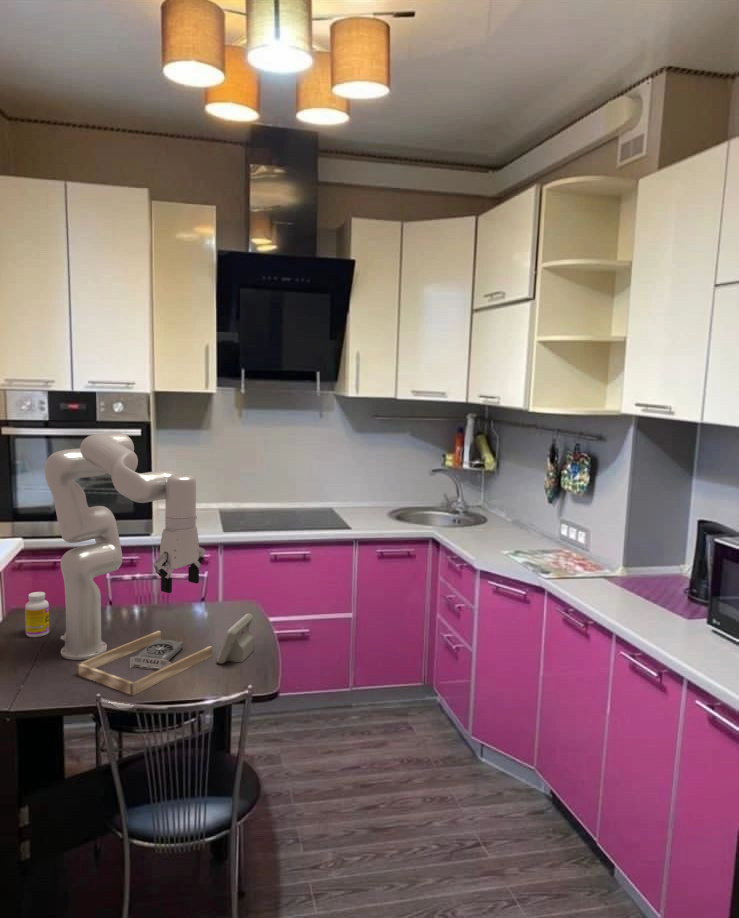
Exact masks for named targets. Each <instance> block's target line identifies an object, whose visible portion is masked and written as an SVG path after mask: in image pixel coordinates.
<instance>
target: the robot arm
mask: <svg viewBox="0 0 739 918" xmlns="http://www.w3.org/2000/svg"><path fill="white" fill-rule="evenodd" d="M134 451H135V445H134V442H133V440H132V439H131V437H129V435H127V434H125V433H123V432H109V433H108V432H107V433H95V434H90V435H88V436H87V437H85V438H84V439H83V440H82V442H81V443H80V446H79V448H72V449H71V448H69V449H62V450H59V451H56V452H54V453H52V454H50V455H49V456H48V457H47V459H46V461H45V465H44V477H45V481H46V484H47V486H48V488H49V491H50V494H51V495H52V497H53V498H52V499H53V502H54V507H55V512H56V514H55V515H56V518H57V523H58V528H59V533H60V536H61V538H62V539H63V541H65V543H70V544H75V543H82V542H85V541H89V540H90V541H91V540H94V542H95V543H91V544H86V545H82V546H78V547H74V548H72V549H69V550H67V551H66V552H65V553H64V554H63V555H62V557H61V559H60V570H61V574H62V578H63V583H64V597H65V599H64V601H65V602H64V603H65V632H64V635H61V636H60V640H61V641H62V642H63V641H64V646H62V648H61V649H60V656H61V657H62V658H64V659H66V660H72V661H73V660H74V661H82V660H84V661H85V660H88V659H90V658H93V657H95V656H98V655H100V654H102V653H105V652H107V650H108V645H107V643H106V642H105V641H103V640H102V602H101V601H102V599H101V598H102V597H101V595H102V594H101V590H100V587H99V586H98V585H97V584H96V582H95V581H94V578H95V577H99V576H103V575H105V574H110V573H113V572H115V571H117V570H119V568H120V567H121V565H122V563H123V552H122V545H121V540H120V536H119V530H118V525H117V521H116V518H115V515H114V513H113V512H112V511H111V509H110V508H108V507H106V506H103V505H95V506H91V507H89V505H88V501H87V497H86V496H87V495H86V493H85V491H84V489H83V488H82V486H80V484H79V483H77V482H76V481H75V480H74V479H82V478H89V477H91V478H92V477H97V476H98V477H99V476H103V475H106V474H107V475H110V477H111V481H112V484H113V486H114V488H115V490H116V491H117V492H118V493H119V494H120V495H122V496H123V497H125V498H127V499H129V500H131V501H132V502H135V503H139V504H140V503H141V504H144V503H150V502H155V501H163V500H165V501H164V502H165V505H164V506H165V510H164V512H165V519H164V521H165V524H164V525H165V528H164V529H162V533H161V538H160V543H159V544H160V547H159V557H158V558H157V559H156V560H155V561H154V562H153V567H154V570H155V573H156V574H158V577H160V590H161V592H162V593H167V594H171V593H172V591H173V578H172V577H171V576H172V573H173V572H174V570H176V569H180V568H184V567H187V566H188V569H187V570H188V573H187V574H188V575H187V576H188V579H187V581H188V582H189V583H192V584H193V583H194V584H199V583H200V568H201V567H202V562H203V561H204V556H205V553H206V549H205V548H203V547H201V546H200V544H199V543H200V541H199V534H198V527H197V525H196V524H197V523H196V522H197V517H198V516H197V514H196V511H197V507H196V506H197V504H196V503H197V501H196V500H197V480H196V477H194V476H193V475H192V474H183V473H178V472H177V471H174V470H169V469H167V470H166V469H165V470H158V471H157V470H156V471H148V472H142V473H140V472H137V471H136V470H137V468H138V465H139V464H138V462H139V459H138V455H137V454H136V453H135V452H134Z"/></svg>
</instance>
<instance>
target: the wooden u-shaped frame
mask: <svg viewBox="0 0 739 918" xmlns="http://www.w3.org/2000/svg"><path fill="white" fill-rule="evenodd" d="M159 638H160V640H162V631H161V630H157V631H154V632H152V633H149V634H146V635H145V636H144V635H143V636H141V637H139V638H137V639H135V640H132V641H130V642H128V643H125V644H121V645H120V646H117V647H115V648H113V649H109V650H108V651H107V650H106V651H105V652H104V653H102V654H100V655H98V656H95V657H93V658H90V659H84V661H81V662H78V663H76V665H75V666H76V668H75V669H76V672H75V673H76V676H78V677H81V678H84V679H87V680H89V681H92V680H93V681H92V682H95V681H96V683H98V684H100V683H101V685H103V686H106V687H109V688H111V689H114V690H116V691H120V692H122V693H125V694H127V695H130V696H135V695H138V694H140V693H141V692H143V691H145V690H147V689H149V688H152V687H153V685H154V686H155V684H156V685H158V684H160V683H162V682H164V681H165V680H168V679H169V678H172V677H174V676H175V675H178V674H179V673H182V672H183V671H186V670H188V669H189V668H191V667H194V666H195V665H197V664H200V663H202V662H203V660H204V661H206V660H207V659H210V658H211V657H213V646H211V645H209V646H206V647H204V648H202V649H200V650H198V651H196V652H193V653H191V654H190V655H187V656H186V657H183V658H181V659H179V660H177V661H175V662H172V663H171V664H170V665H168V666H166V667H164V668H162V669H160V670H155V671H154V672H151V673H150V674H148V675H146V676H143V677H142V678H139V679H137V680H135V681H132V680H129V679H125V678H122V677H120V676H118V675H114V674H111V673H109V672H106V671H104V670H100V669H98V668H100V667H102V666H105V665H108V664H110V663H111V662H114V661H117V660H118V659H121V658H123V657H125V656H128V655H130V654H133V653H135V652H138V651H141V650H143V649H145V648H147V647H148V646H149V645H150V644H151V643H153V642H154V641H155V640H156V639H159Z"/></svg>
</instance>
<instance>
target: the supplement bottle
mask: <svg viewBox="0 0 739 918" xmlns="http://www.w3.org/2000/svg"><path fill="white" fill-rule="evenodd" d="M45 598H46V592H44V591H35V592H30V593H28V602H26V603H25V605H24V608H25V610H24V611H25V613H24V614H25V634H26V636H27V637H29V638H40V637H43V636H46V635H48V634H49V633H50V604H49V603H50V602H48V600H46V599H45Z"/></svg>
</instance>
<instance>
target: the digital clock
mask: <svg viewBox="0 0 739 918" xmlns="http://www.w3.org/2000/svg"><path fill="white" fill-rule="evenodd" d="M253 619H254V616H253V614H252V613H246V614H244V615H243V616H242V617H241V618H240V619H238V621H236V622H235V623H234V624H233V625H232V626H231V627H230V628H228V630H227V631H226V634H225V636H224V638H223V641H222V644H221V647H220V649H219V652H218V654H217V656H216V662H217V663H218V664H225V663H226V662H227V661H228V662H236V663H243V662H244V661H245V660H246V659H247V658H248V657H249V656H250V655H251V654H252V652H254V651H255V650H254V649H255V646H254V645H255V638H254V635H252V634H251V632H250V631H249V630H250V627H251V625H252V622H253Z"/></svg>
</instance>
